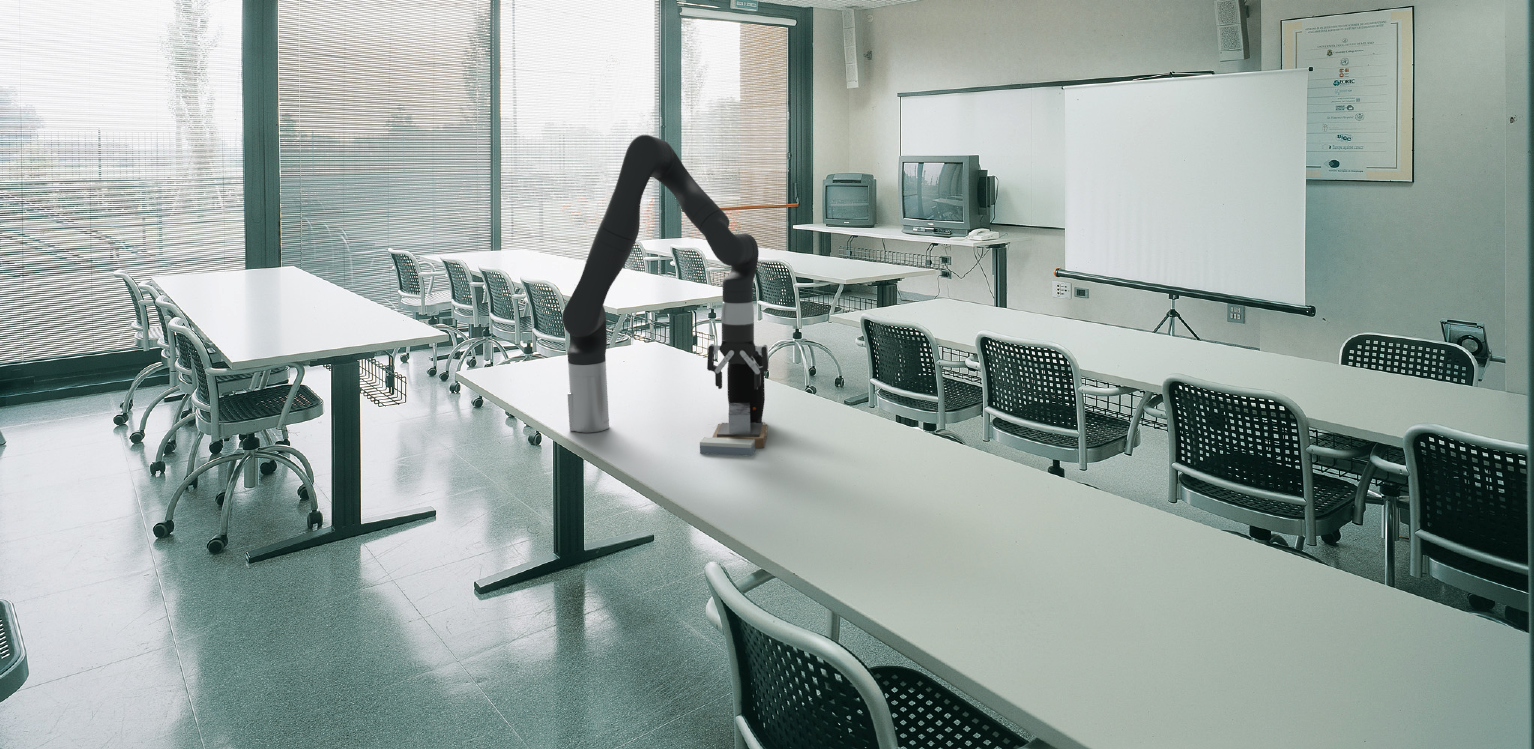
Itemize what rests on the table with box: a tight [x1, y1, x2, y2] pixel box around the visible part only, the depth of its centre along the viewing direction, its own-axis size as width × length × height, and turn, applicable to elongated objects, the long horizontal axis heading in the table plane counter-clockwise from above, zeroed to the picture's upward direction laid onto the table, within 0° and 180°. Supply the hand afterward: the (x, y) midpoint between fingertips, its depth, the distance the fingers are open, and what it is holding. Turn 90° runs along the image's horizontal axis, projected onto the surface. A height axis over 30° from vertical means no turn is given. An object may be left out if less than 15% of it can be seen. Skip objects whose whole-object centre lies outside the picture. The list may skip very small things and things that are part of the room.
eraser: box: [699, 436, 756, 457], centre depth 219 cm, size 12×4×3 cm, turn 78°
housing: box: [728, 403, 750, 434], centre depth 227 cm, size 10×5×5 cm, turn 1°
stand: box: [711, 422, 768, 449], centre depth 228 cm, size 12×12×3 cm
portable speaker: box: [726, 351, 766, 423], centre depth 242 cm, size 9×9×20 cm
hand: (738, 388), depth 225 cm, fingers open, 8 cm apart
